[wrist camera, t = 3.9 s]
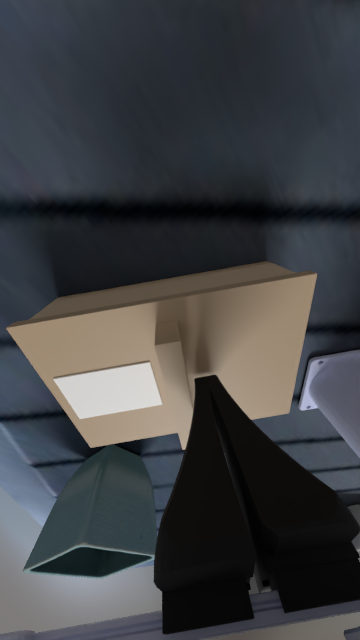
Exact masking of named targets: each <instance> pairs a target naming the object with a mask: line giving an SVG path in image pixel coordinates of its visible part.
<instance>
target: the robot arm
mask: <svg viewBox="0 0 360 640" xmlns="http://www.w3.org/2000/svg"><path fill="white" fill-rule="evenodd" d="M194 382H195V400H194V409H193V416H192V422H191V428H190V432H189V437H188V441H187V445H186V449H185V453H184V456H183V460H182V463H181V466H180V470H179V473H178V475H177V478H176V481H175V484H174V487H173V490H172V493H171V496H170V498H169V501H168V503H167V506H166V508H165V511H164V514H163V516H162V519H161V523H160V528H159V532H158V537H157V542H156V548H155V557H154V583H155V585H156V586H157V588H159V589H160V590H161V591H162V611H156V612H151V613H145V614H140V615H134V616H129V617H123V618H117V619H112V620H107V621H101V622H95V623H90V624H84V625H78V626H73V627H67V628H62V629H56V630H50V631H45V632H39V633H35V632H34V631H16V632H10V633H5V634H0V640H206V639H211V638H217V637H222V636H228V635H233V634H239V633H245V632H250V631H256V630H261V629H267V628H273V627H278V626H283V625H289V624H294V623H300V622H306V621H311V620H317V619H323V618H328V617H334V616H339V615H345V614H350V613H356V612H360V562H359V560H358V558H359V557H360V556H359V554H358V552H357V550H356V548H355V547H354V545H353V543H352V542H351V541H352V540H353V539H354V538H355V537H356V536H357V535H358V534H359V532H360V525H359V524H358V522H357V521H356V519H355V517H354V516H353V514H352V513H351V512H350V510H349V509H348V508H347V506H346V505H345V504H344V502H343V501H342V500H341V498H340V497H339V496H338V495H337V493H336V492H335V491H334V490H333V489H331V488H330V487H328V486H327V485H326V484H324V483H323V482H322V481H320V480H319V479H318V478H316V477H315V476H314V475H312V474H311V473H310V472H309V471H307V470H306V469H305V468H304V467H302V466H301V465H300V464H299V463H297V462H296V461H295V460H294V459H292V458H291V457H290V456H289V455H288V454H287V453H286V452H284V451H283V450H282V449H281V448H280V447H279V446H277V445H276V444H275V443H274V442H273V441H272V440H271V439H270V438H269V437H268V436H267V435H266V434H264V433H263V432H262V431H261V430H260V429H259V428H258V427H257V426H256V425H255V423H254V422H253V421H252V420H251V419H250V418H249V417H248V416H247V415H246V414H245V413H244V411H243V410H242V409H241V408H240V407H239V406H238V404H237V403H236V402H235V401H234V399H233V398H232V397H231V396H230V394H229V393H228V391H227V390H226V389H225V387H224V386H223V384H222V383H221V381H220V380H219V378H218V376H217V375H210V376H204V377H198V378H195V379H194ZM298 407H299V408H300V410H308V409H314V408H319V409H320V410H321V412H322V413H323V414H324V415H325V416H326V418H327V419H328V420H329V421H330V423H331V424H332V425H333V426H334V427H335V429H336V430H337V431H338V432H339V433H340V435H341V436H342V437H343V438H344V440H345V441H346V442H347V443H348V444H349V446H350V447H351V448H352V449H353V450H354V452H355V453H356V454H357V455H358V457H359V458H360V350H354V351H348V352H342V353H337V354H331V355H325V356H320V357H314V358H312V359H310V360H309V363H308V367H307V372H306V376H305V380H304V384H303V389H302V393H301V397H300V401H299V406H298ZM221 444H222V445H221ZM222 447H223V448H222ZM223 450H224V452H223ZM224 453H225V455H224ZM225 456H226V458H225ZM226 460H227V462H226ZM227 463H228V465H227ZM228 467H229V468H228ZM229 471H230V472H229ZM253 573H254V575H255V579H256V583H257V587H258V591H259V593H257V594H251V595H249V592H248V590H250V589H251V588H250V584H249V583H250V577H253ZM344 636H345V638H346V640H360V626H359V627H357V628H353V629H348V630H344Z"/></svg>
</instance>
